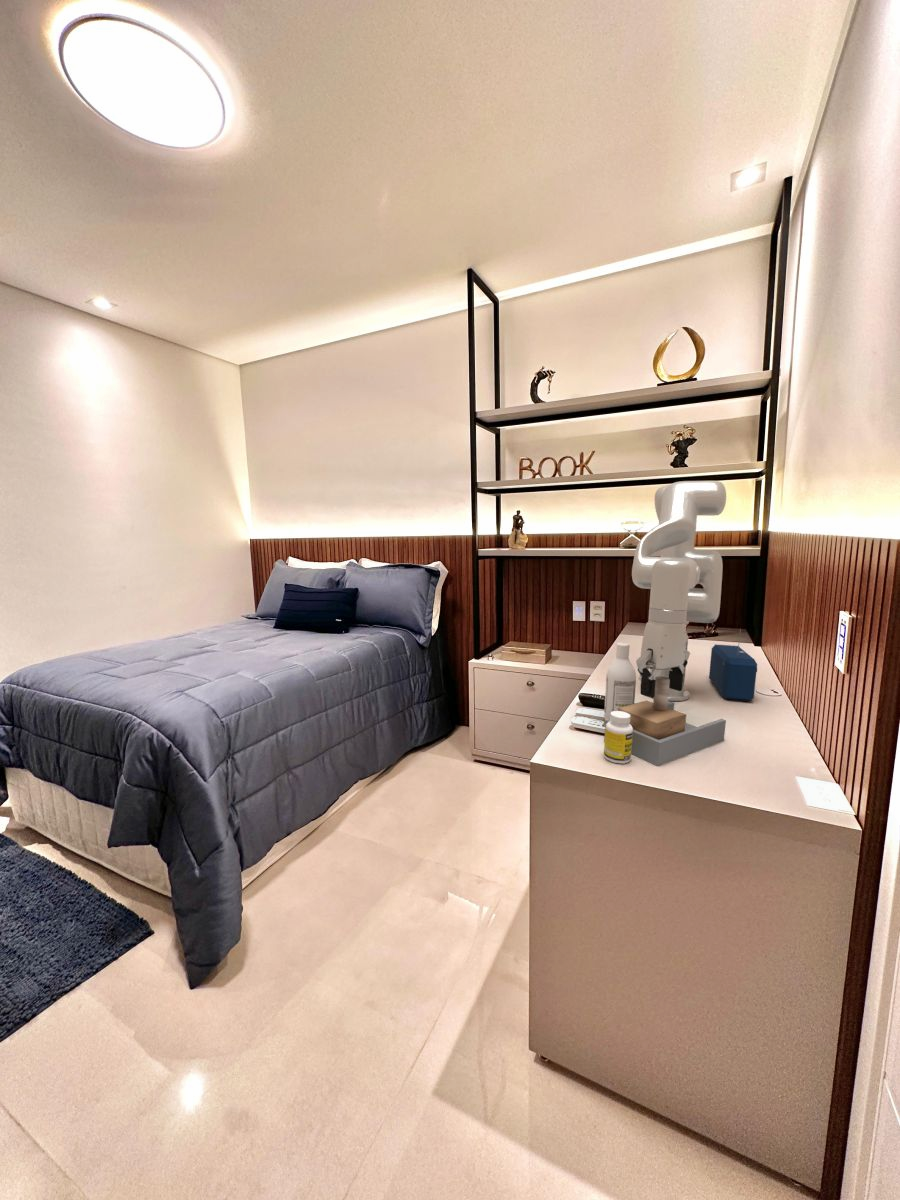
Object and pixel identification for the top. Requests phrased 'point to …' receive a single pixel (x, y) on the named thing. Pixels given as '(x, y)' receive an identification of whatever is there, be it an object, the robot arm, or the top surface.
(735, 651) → the radio
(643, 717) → the block
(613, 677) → the bath foam
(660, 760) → the bay
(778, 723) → the top surface
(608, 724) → the supplement bottle
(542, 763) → the top surface
